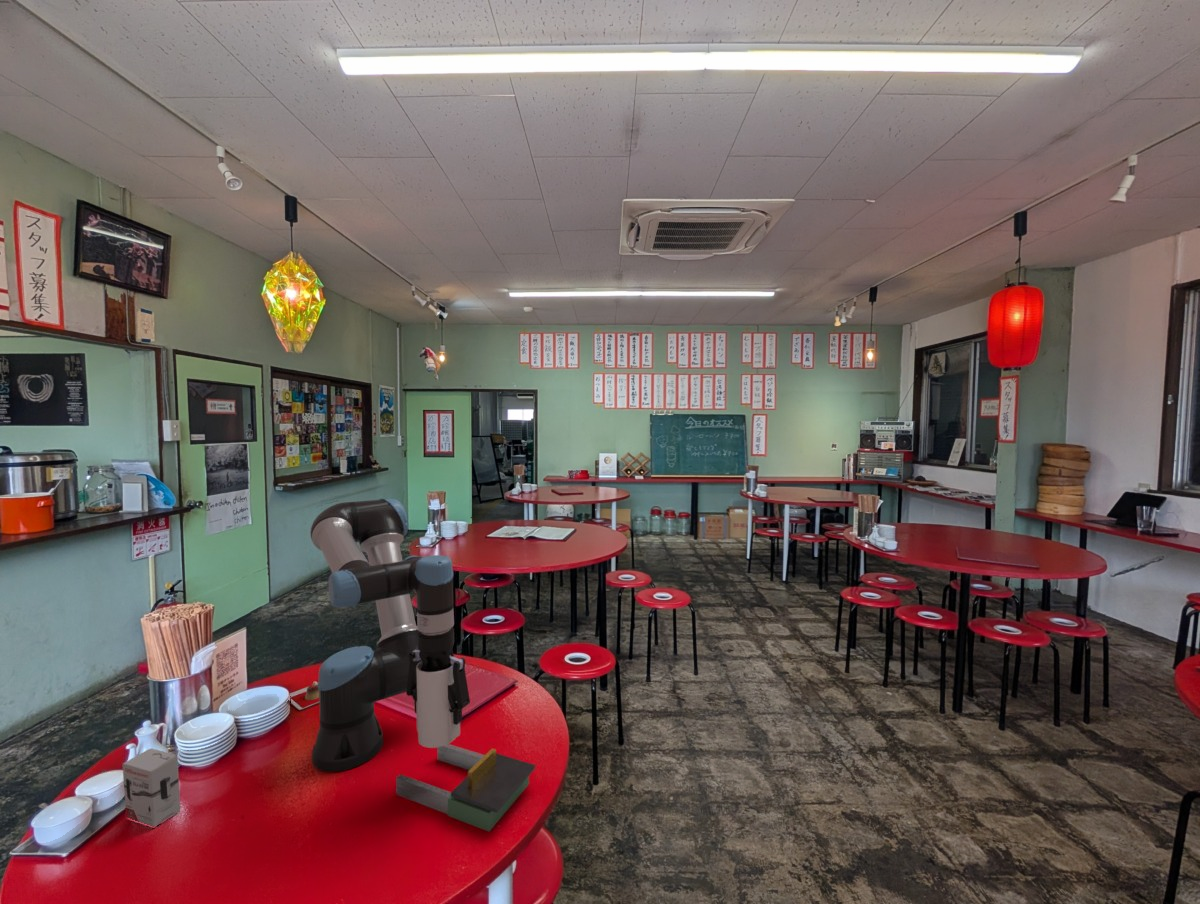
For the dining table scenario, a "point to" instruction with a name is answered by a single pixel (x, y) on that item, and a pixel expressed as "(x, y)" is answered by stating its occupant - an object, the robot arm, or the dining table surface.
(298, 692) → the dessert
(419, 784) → the bracket
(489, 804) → the cover
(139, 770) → the ink box
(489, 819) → the green rectangular box
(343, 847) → the dining table surface
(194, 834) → the dining table surface
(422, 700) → the cup
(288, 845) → the dining table surface
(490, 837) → the dining table surface
